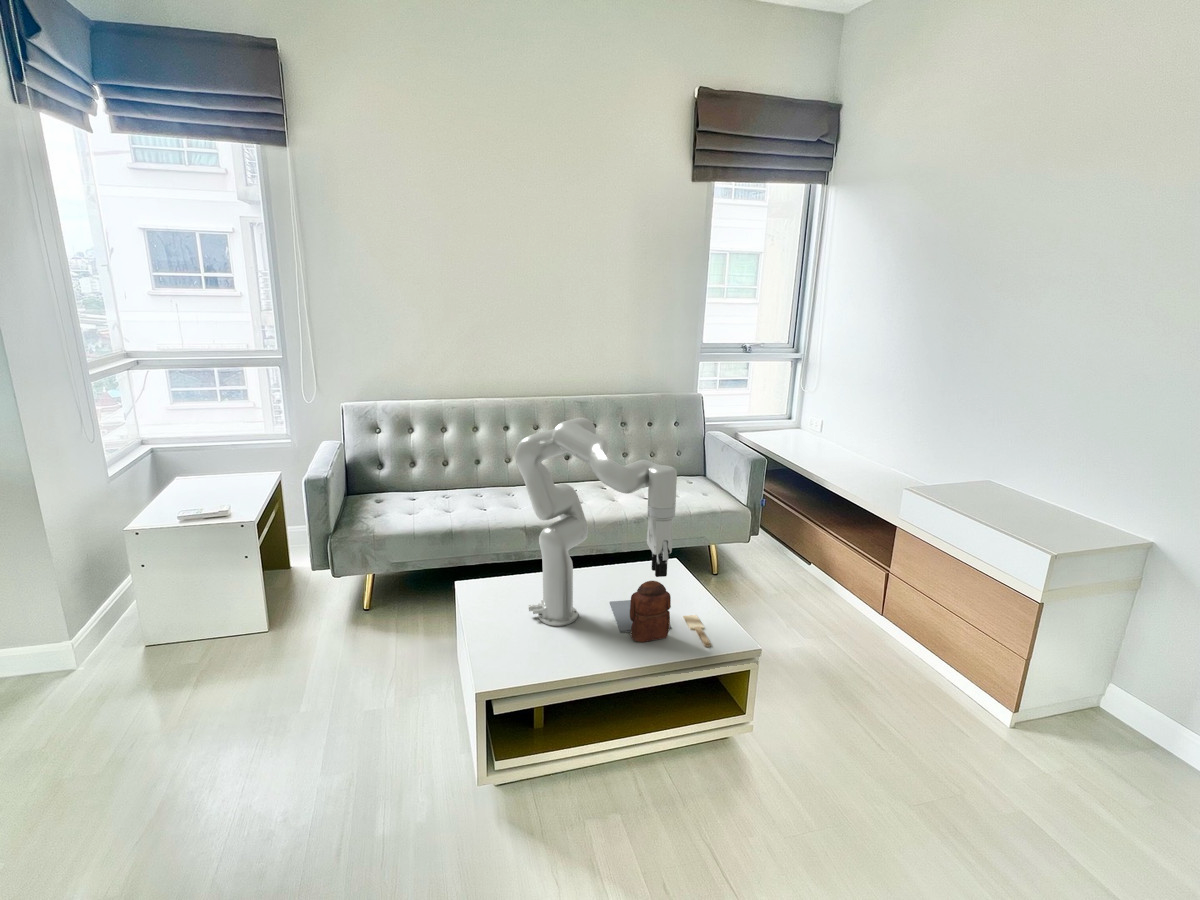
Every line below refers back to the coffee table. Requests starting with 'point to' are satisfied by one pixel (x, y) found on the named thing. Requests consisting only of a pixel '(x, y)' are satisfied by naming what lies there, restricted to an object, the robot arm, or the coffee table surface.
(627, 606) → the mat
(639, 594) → the wooden figurine
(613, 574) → the coffee table surface
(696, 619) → the turner
